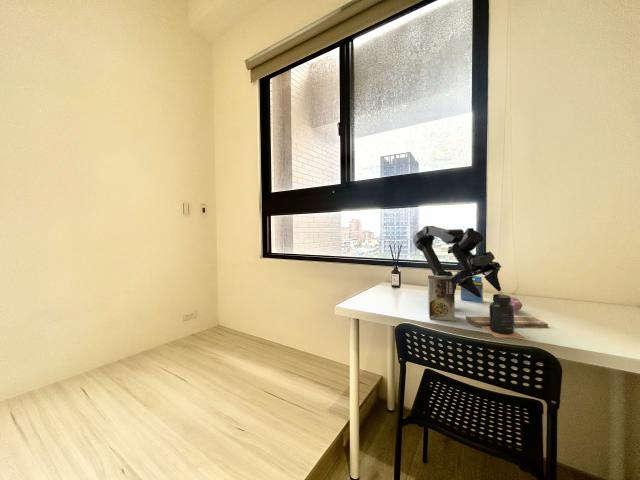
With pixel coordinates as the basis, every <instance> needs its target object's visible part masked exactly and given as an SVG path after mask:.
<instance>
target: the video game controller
mask: <svg viewBox="0 0 640 480" xmlns="http://www.w3.org/2000/svg"><path fill="white" fill-rule="evenodd" d="M510 297H511V303H510V304H511V305H513V307H514V314H516V313H517V312H519V311H520V310H521V309H522V308H523V303H522V302H521V301H520V300H519V299H518V298H516V297H513V296H510Z"/></svg>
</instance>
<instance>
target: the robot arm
mask: <svg viewBox="0 0 640 480" xmlns="http://www.w3.org/2000/svg"><path fill="white" fill-rule="evenodd" d="M435 238H439V239H440V240H441V242H443V243H445V244H447V245H449V244H451V246H448V250H447V254H452V255H453V256H454V258H455V259H456V261H457V264H456V265H457V267H461V268H462V269H463V270H461V271H457V272H456V273H455V274H453V273H452V271H446V269H445V268H444V266H443V265H442V262H441V261H440V259H439V257H438V256H437V253H436V252H435V250H434V248H433V244H434V240H435ZM483 241H484V236H483V235H482V234H481V233H480V232H479V231H477V230H475V229H474V228H472V227H468V228H467V229H466V230H465V231H464V230H463V229H461V228H458V229H456V228H455V229H446V228H443V227H442V228H441V227H437V226H435V225H425V226H423V228H422V229H420V230H419V231H417V232H416V233H415V235H414V236H413V238H412V243H413V244H414V246H415V248H416V249H417V250H419V251H420V252H421V253H422V254H423V256H424V258H425V260H426V262H427V264H428V266H429V268H430V270H431V272H432V274H433V276H452V277H451V281H452V283H453V284H454V291H455V292H456V289H457V286H458V287H460V288H461V287H463V288H465V289H466V290H468V291H470V292H471V293H473V294H474V295H476V296H477V297H479V298H480V297H481V294H480V292H479V291H478V289H477V288H476V286H475V284H474V283H473V280H474V278H473V277H472V276H478V275H479V276H480V275H483V276H484V277H483V278H484V279H485V280H486V281H487V282H488V283H489V284H490V285H491V286H492V287H493V288H494V289H495V290H496V291H498V292H501V291H502V288H501V287H502V286H501V285H500V281H499V277H498V275H499V271H500V270H501V268H502V266H501V265H500V263H499V262H498V261H494V260H495V255H494V253H492V252H491V251H487V252H483V255H482V256H481V255H480V256H478V255H477V254H476V253H475V254H473V253H472V252H471V251H474V249H476V248H477V247H478V246H479V245H481V243H483ZM452 244H453V245H452Z"/></svg>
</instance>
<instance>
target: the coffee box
mask: <svg viewBox="0 0 640 480" xmlns="http://www.w3.org/2000/svg"><path fill="white" fill-rule="evenodd" d="M451 277H452V276H434V275H427V299H428V300H427V301H428V302H427V305H428V308H427V309H428V318H430V319H429V320H438V321H439V320H440V321H453V322H455V321H456V309H455V307H456V306H455V305H456V304H455V303H456V301H455V298H456V297H455V295H456V294H455V293H456V290H455V291H454V284H453V283H452V281H451Z"/></svg>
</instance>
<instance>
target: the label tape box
mask: <svg viewBox="0 0 640 480" xmlns="http://www.w3.org/2000/svg"><path fill="white" fill-rule="evenodd" d="M472 277H473V283H474V284H475V286H476V288H477V289H478V291H479V292H480V294H481V297H480V298H479V297H477V296H476V295H474V294H473V293H471V292H470V291H468V290H466V289H465V288H463V287H461V286H460V300H461V301H466V302H474V303H481V304H482V303H483V301H484V283H483V282H482V281H483V277H482V276H480V275H479V276H478V275H475V276H472Z"/></svg>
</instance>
